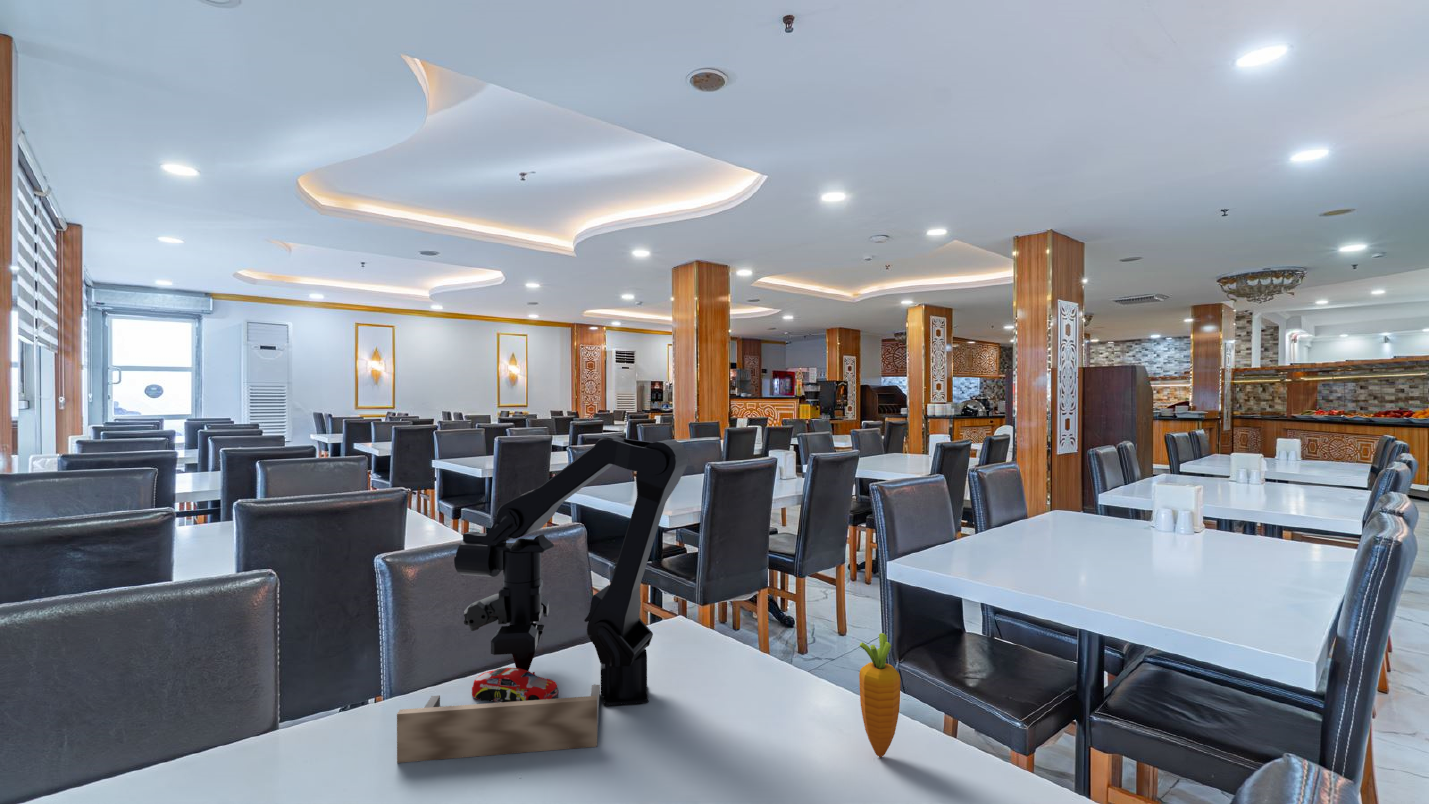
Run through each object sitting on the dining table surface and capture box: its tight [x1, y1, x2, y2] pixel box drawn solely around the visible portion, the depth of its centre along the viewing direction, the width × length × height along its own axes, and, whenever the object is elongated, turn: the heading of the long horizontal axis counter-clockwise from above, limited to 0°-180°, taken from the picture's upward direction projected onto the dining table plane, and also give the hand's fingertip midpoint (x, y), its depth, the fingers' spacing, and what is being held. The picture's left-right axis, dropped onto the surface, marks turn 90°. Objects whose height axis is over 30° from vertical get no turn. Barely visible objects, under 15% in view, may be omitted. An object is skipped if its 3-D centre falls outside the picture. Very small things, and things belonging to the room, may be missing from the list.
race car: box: [471, 667, 559, 703], centre depth 98 cm, size 13×5×4 cm, turn 77°
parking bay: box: [396, 684, 601, 764], centre depth 89 cm, size 24×15×6 cm, turn 99°
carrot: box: [858, 632, 901, 758], centre depth 81 cm, size 5×5×15 cm
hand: (522, 677), depth 102 cm, fingers closed
